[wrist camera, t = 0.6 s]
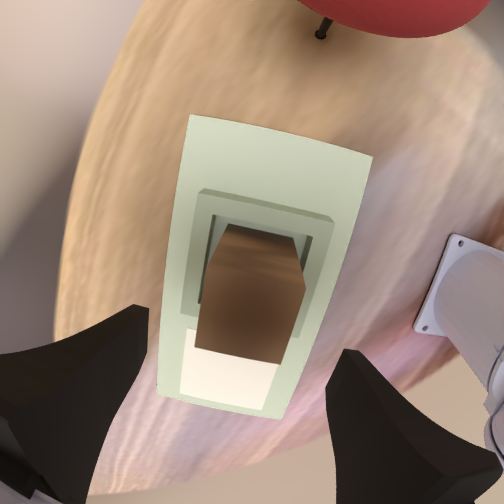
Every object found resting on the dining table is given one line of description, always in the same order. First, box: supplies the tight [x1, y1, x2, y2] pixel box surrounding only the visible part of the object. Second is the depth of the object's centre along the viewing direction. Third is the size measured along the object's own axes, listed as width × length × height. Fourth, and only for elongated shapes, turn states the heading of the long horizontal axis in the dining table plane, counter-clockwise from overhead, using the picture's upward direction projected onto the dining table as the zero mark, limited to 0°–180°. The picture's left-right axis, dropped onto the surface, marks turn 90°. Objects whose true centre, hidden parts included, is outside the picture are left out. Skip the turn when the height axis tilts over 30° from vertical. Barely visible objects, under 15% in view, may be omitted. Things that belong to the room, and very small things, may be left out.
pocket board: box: [157, 114, 373, 419], centre depth 20 cm, size 11×22×2 cm, turn 168°
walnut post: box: [194, 223, 306, 365], centre depth 16 cm, size 4×4×7 cm
